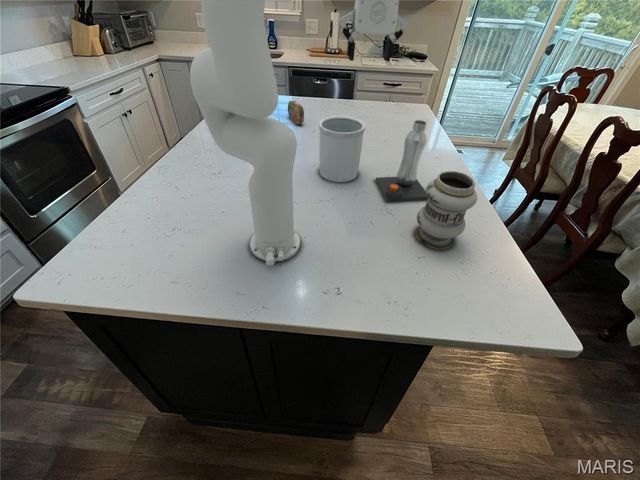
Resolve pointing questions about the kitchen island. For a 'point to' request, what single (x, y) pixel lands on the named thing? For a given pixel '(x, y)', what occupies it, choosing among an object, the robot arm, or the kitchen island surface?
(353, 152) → the utensil holder
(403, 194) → the scale
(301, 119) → the mottled brown slab
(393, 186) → the tare button
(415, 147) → the plastic bottle
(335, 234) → the kitchen island surface
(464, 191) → the apothecary jar
